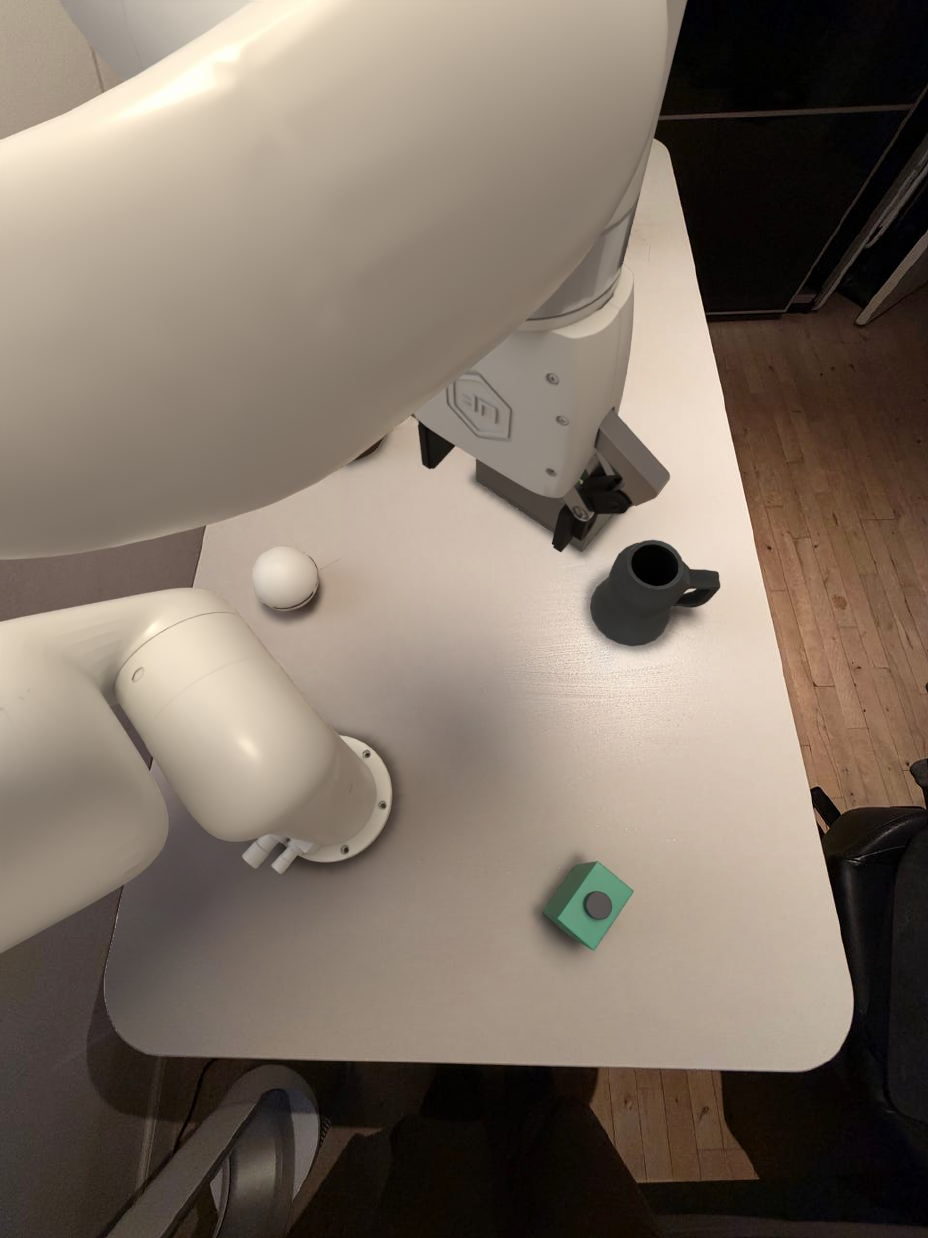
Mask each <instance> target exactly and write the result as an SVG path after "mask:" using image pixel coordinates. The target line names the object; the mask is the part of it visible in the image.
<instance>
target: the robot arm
mask: <svg viewBox="0 0 928 1238" xmlns="http://www.w3.org/2000/svg"><path fill="white" fill-rule="evenodd" d="M58 2H59V4H60V5H61V6H62V8H63V10H64V11H65V13H66V14H67V16H68V17H69V19H70V21H71V22H72V23H73V25H74V26H75V27H76V28H77V30H78V31H79V32H80V34H81V35H82V36H83V38H84V39H85V40H86V41H87V43H88V44H89V45H90V46H91V48H92V49H93V50H94V52H95V53H96V54H97V56H99V58H100V59H101V60H102V61H103V62H104V63H105V64H106V65H107V66H108V68H109V69H110V70H111V71H112V72H113V73H114V74H115V76H117V78H119V79H120V80H121V81H122V82H121V83H119V84H118V85H115V86H114V87H112V88H110V89H108V90H106V91H104V92H102V93H101V94H99V95H97V96H95V97H93V98H91V99H89V100H87V101H85V102H84V103H81V104H80V105H78V106H76V107H74V108H72V109H71V110H69V111H67V112H65V113H62V114H60V115H58V116H55V117H53V118H51V119H48V120H45V121H43V122H41V123H38V124H36V125H33V126H31V127H29V128H26V129H23V130H22V131H19V132H16V133H14V134H12V135H8V136H7V137H4V138H2V139H0V561H11V560H13V561H14V560H26V559H28V560H29V559H43V558H53V557H54V558H55V557H62V556H69V555H77V554H82V553H90V552H95V551H101V550H107V549H112V548H118V547H122V546H126V545H130V544H134V543H140V542H144V541H150V540H154V539H155V540H156V539H159V538H163V537H166V536H167V537H168V536H171V535H175V534H179V533H182V532H187V531H191V530H194V529H199V528H202V527H206V526H209V525H212V524H217V523H220V522H223V521H227V520H230V519H233V518H235V517H239V516H241V515H244V514H247V513H251V512H254V511H257V510H259V509H260V510H261V509H263V508H266V507H268V506H271V505H273V504H276V503H279V502H280V501H282V500H284V499H286V498H287V499H288V498H289V497H290V496H293V495H295V494H297V493H299V492H301V491H303V490H305V489H307V488H309V487H311V486H314V485H316V484H318V483H319V482H321V481H323V480H325V479H326V478H327V477H329V476H330V475H332V474H334V473H336V472H337V471H339V470H340V469H342V468H344V467H345V466H346V465H348V464H350V463H351V462H353V461H354V460H356V459H355V458H357V457H358V456H359V455H361V454H362V453H363V452H365V451H366V450H367V449H368V448H370V447H371V446H372V445H374V444H375V443H376V442H378V441H379V440H380V439H381V438H382V439H383V438H384V437H385V436H386V435H388V434H389V433H390V432H392V431H393V430H394V429H396V428H397V427H398V426H399V425H401V424H402V423H403V422H405V421H406V420H407V419H408V418H410V417H412V418H413V419H414V420H416V421H417V423H418V424H417V432H418V437H419V438H418V440H419V447H420V456H421V465H422V466H423V467H425V468H427V469H428V470H434V469H436V468H437V467H438V466H439V465H440V464H441V463H442V461H443V460H445V458H446V457H447V456H448V455H449V454H450V453H451V452H452V451H453V450H454V449H455V448H456V447H457V448H458V449H460V450H462V451H463V452H465V453H467V454H468V455H470V456H471V457H473V458H475V460H476V459H478V460H480V461H481V462H483V463H484V464H486V465H488V466H489V467H491V468H493V469H494V470H496V471H498V472H499V473H501V474H503V475H504V476H506V477H508V478H509V479H511V480H513V481H514V482H516V483H518V484H519V485H521V486H523V487H525V488H526V489H528V490H530V491H532V492H534V493H537V494H539V495H542V496H546V497H551V498H561V497H563V499H564V500H565V502H566V504H565V505H564V506H563V507H562V509H561V510H560V512H559V514H558V519H557V523H556V527H555V532H554V533H553V535H552V541H551V545H552V548H553V549H554V550H556V551H558V552H559V553H562V552H563V551H564V550H565V549H566V548H567V546H568V545H570V544H569V542H570V541H571V540H572V538H573V537H575V538H577V539H578V540H580V541H582V540H583V539H584V538H585V537H586V535H587V534H588V533H589V532H590V530H591V529H592V527H593V525H594V524H595V522H596V519H597V516H598V514H613V515H620V514H621V515H622V514H625V513H627V511H628V510H629V509H630V508H632V507H638V506H640V505H643V504H645V503H647V502H649V501H652V500H655V499H656V498H657V497H658V496H659V495H660V493H661V492H662V491H663V489H664V488H665V487H666V485H667V484H668V483H669V481H670V480H671V474H670V472H669V471H668V469H667V468H666V467H665V466H664V464H662V463H661V461H660V460H659V459H658V458H657V457H656V456H655V455H654V453H652V451H650V449H649V448H648V447H647V446H646V445H645V444H644V443H643V442H642V441H641V439H640V438H639V437H638V436H637V435H636V434H635V433H634V432H633V430H632V429H631V428H630V427H629V426H628V425H627V424H626V423H625V421H624V420H623V419H622V418H621V417H620V416H619V413H620V409H621V405H622V400H623V395H624V392H625V385H626V380H627V376H628V368H629V363H630V357H631V356H630V355H631V349H632V341H633V340H632V339H633V329H634V313H635V312H634V309H635V276H634V272H633V270H632V269H631V268H629V267H630V266H627V265H626V264H625V263H624V261H625V259H626V253H627V250H628V245H629V241H630V236H631V233H632V229H633V225H634V220H635V216H636V212H637V208H638V204H639V200H640V195H641V191H642V187H643V184H644V179H645V175H646V170H647V167H648V163H649V158H650V154H651V150H652V146H653V142H654V138H655V134H656V129H657V126H658V121H659V119H660V113H661V110H662V104H663V100H664V97H665V93H666V89H667V85H668V80H669V76H670V73H671V68H672V65H673V60H674V55H675V51H676V47H677V43H678V41H679V40H678V39H679V35H680V30H681V27H682V23H683V19H684V15H685V10H686V8H687V7H686V6H687V2H688V0H58ZM357 459H358V458H357ZM610 465H611V466H612V467H613V468H614V469H615V470H616V471H617V472H618V473H619V474H618V475H615V474H614V472H613V470H612V468H611V466H610ZM585 468H586V470H587V472H588V474H589V476H590V477H587V478H586V479H585V480H584V482H583V483H582V484H581V482H580V481H579V479H580V477H581V476H582V474H583V472H584V470H585ZM114 705H119V706H120V708H121V709H122V711H123V712H124V714H125V715H126V717H127V719H128V720H129V721H130V724H131V725H132V726H133V727H134V729H135V730H136V732H137V734H138V735H139V737H140V738H141V740H142V742H143V743H144V745H145V747H146V751H147V752H148V753H149V754H150V756H151V757H152V759H153V761H154V762H155V763H156V765H157V766H158V768H159V770H160V771H161V773H162V774H163V776H164V778H165V779H166V781H167V783H168V784H169V786H170V787H171V788H172V790H173V791H174V793H175V794H176V796H177V797H178V799H179V800H180V802H181V803H182V805H183V806H184V807H185V809H186V810H187V811H188V813H189V814H190V815H191V816H192V818H193V819H194V820H195V821H196V823H198V825H200V827H201V828H202V829H204V830H205V831H206V832H207V833H208V834H210V835H211V836H213V837H214V838H216V839H219V840H221V841H225V842H229V843H230V842H231V843H233V842H234V843H235V842H236V843H238V842H239V843H240V842H247V841H252V840H254V841H253V842H252V844H250V846H249V847H247V849H246V850H245V851H244V852H243V853H242V855H241V857H242V859H243V860H244V861H245V862H246V863H247V864H248V865H249V866H251V867H252V868H253V869H255V870H256V869H258V868H259V867H260V866H261V865H262V863H263V862H264V861H265V860H267V858H268V857H269V855H270V854H271V851H273V849H275V847H276V846H277V845H278V844H279V843H280V844H283V846H285V847H286V849H284V851H283V852H282V853H280V854H279V856H278V857H277V858H276V859H275V860H274V861H273V862H272V864H271V867H272V868H273V869H274V870H275V872H277V873H278V874H280V875H283V874H284V873H285V872H286V870H287V869H288V868H289V867H290V866H291V864H292V862H293V861H294V860H295V859H296V858H297V856H298V857H301V858H304V859H306V860H308V861H311V862H317V863H335V862H336V863H337V862H341V861H345V860H347V859H350V858H353V857H355V856H357V855H359V854H360V853H362V852H364V851H365V850H366V849H368V847H370V846H371V845H372V844H374V842H375V840H376V839H377V838H378V837H379V835H381V833H382V831H383V830H384V827H385V826H386V824H387V822H388V819H389V817H390V814H391V811H392V804H393V800H394V799H393V795H394V794H393V784H392V780H391V775H390V772H389V770H388V768H387V766H386V764H385V762H384V760H383V759H382V758H381V756H380V755H379V754H378V753H377V752H376V751H375V749H373V748H372V747H371V746H369V745H368V744H367V743H365V742H363V741H362V740H359V739H358V738H355V737H353V736H347V735H341V734H338V732H337V731H335V729H334V728H333V727H332V726H331V725H330V724H328V722H326V721H325V720H324V718H323V717H322V716H321V715H320V713H319V712H318V711H317V710H316V708H315V707H314V706H313V704H312V703H311V702H310V701H309V699H308V698H307V697H306V696H305V695H304V694H303V692H302V691H301V689H300V688H299V686H297V684H296V683H295V682H294V681H293V679H292V678H291V677H290V675H289V674H288V673H287V671H286V670H285V668H284V667H283V666H282V665H281V664H280V662H278V661H277V659H275V657H274V656H273V655H272V653H271V652H270V650H268V648H267V647H266V646H265V644H264V643H263V641H261V639H260V637H258V635H257V634H256V632H255V631H254V630H253V629H252V627H251V626H250V625H249V624H248V622H247V621H246V620H245V619H244V618H243V616H242V615H241V614H240V612H239V611H238V610H237V609H236V608H235V607H234V605H232V604H231V603H230V602H229V601H228V600H227V599H226V598H224V597H223V596H221V595H220V594H218V593H216V592H214V591H211V590H208V589H204V588H199V587H178V588H177V587H176V588H167V589H161V590H155V591H149V592H144V593H139V594H134V595H128V596H124V597H118V598H113V599H108V600H103V601H98V602H92V603H86V604H82V605H76V606H72V607H67V608H61V609H56V610H52V611H51V610H50V611H46V612H40V613H36V614H30V615H25V616H19V617H16V618H11V619H6V620H2V621H0V954H2V953H4V952H7V951H8V950H10V949H12V948H13V947H16V946H17V945H19V944H21V943H23V942H25V941H26V940H29V939H30V938H32V937H33V936H35V935H37V934H39V933H41V932H43V931H45V930H46V929H49V928H50V927H52V926H54V925H55V924H58V923H59V922H61V921H62V920H65V919H67V918H69V917H70V916H72V915H74V914H76V913H78V912H79V911H82V910H83V909H85V908H87V907H88V906H90V905H92V904H94V903H96V902H97V901H99V900H100V899H103V898H104V897H106V896H107V895H110V894H111V893H112V892H114V891H116V890H117V889H119V888H121V887H122V886H124V885H125V884H127V883H128V882H130V881H131V880H133V879H135V878H136V877H137V876H138V875H140V874H141V873H142V872H144V870H146V869H147V868H148V867H150V865H151V864H152V863H153V862H154V861H155V860H156V859H157V858H158V856H159V855H160V853H161V852H162V850H163V849H164V847H165V844H166V841H167V839H168V836H169V831H170V829H169V824H170V823H169V813H168V810H167V806H166V802H165V798H164V796H163V794H162V792H161V790H160V789H159V786H158V784H157V782H156V780H155V777H154V776H153V774H152V772H151V770H150V769H149V767H148V765H147V763H146V762H145V760H144V759H143V757H142V755H141V754H140V752H139V751H138V748H137V747H136V746H135V743H134V742H133V741H132V739H131V738H130V735H128V733H127V731H126V730H125V728H124V727H123V725H122V724H121V722H120V721H119V719H118V717H117V716H116V713H114V711H113V710H112V708H111V706H114ZM367 754H369V756H368V757H367V756H366V755H367ZM383 805H385V807H384V808H382V806H383ZM256 839H257V840H256ZM346 848H347V849H348V851H347V852H346V851H345V850H346Z"/></svg>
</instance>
